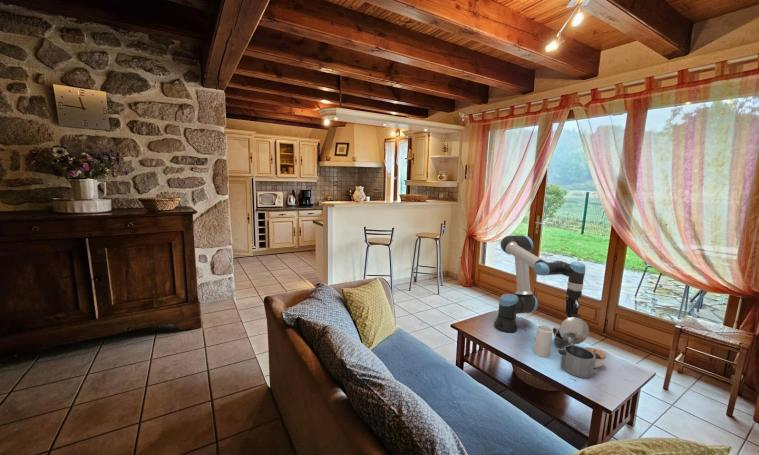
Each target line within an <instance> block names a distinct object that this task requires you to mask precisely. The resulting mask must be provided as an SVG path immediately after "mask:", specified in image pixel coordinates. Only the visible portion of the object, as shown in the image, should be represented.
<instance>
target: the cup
mask: <svg viewBox="0 0 759 455" xmlns="http://www.w3.org/2000/svg"><path fill="white" fill-rule="evenodd" d="M553 334H554V333H553V328H551V327H550V326H547V325H543V324H542V325H541V324H540V325H538V326H537V327H536V334H535V341H534V346H533V347H534V350H533V353H534V354H535V355H536V356H539V357H540V358H541V357H542V358H549V357H550V353H551V352H550V351H551V346H552V345H551V344H552V340H553Z"/></svg>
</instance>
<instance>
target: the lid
mask: <svg viewBox="0 0 759 455" xmlns="http://www.w3.org/2000/svg"><path fill="white" fill-rule="evenodd" d="M558 328H559V332H560V335H561V337H562V338H563V339H564V340H565V341H566V342H568V343H570V344H573V345H580V344H582V343H584V342H585V341H586V340H587V339H588V337H589V334H590V330H589V329H590V328H589V325H588V324H587V322H586V321H585V320H584V319H582V318H581V314H580V313H577V314H574V313H570V317H569V318H567V317H566V318H565V319H564V320H562V322H561V323H560V325H559V327H558Z"/></svg>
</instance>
